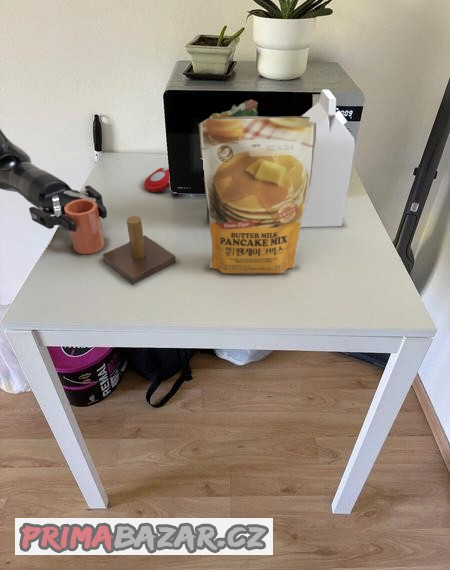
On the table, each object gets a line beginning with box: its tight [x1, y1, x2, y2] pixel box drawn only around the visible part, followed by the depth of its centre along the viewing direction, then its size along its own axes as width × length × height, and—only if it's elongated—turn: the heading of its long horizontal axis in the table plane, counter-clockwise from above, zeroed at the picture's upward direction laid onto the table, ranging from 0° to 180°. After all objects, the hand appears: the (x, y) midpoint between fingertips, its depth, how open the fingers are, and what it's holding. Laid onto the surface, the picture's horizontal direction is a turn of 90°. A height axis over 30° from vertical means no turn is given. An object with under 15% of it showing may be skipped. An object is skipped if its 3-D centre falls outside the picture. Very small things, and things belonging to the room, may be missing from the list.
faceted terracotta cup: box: [64, 199, 106, 255], centre depth 87 cm, size 6×6×9 cm
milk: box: [301, 89, 356, 228], centre depth 93 cm, size 12×12×26 cm
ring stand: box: [102, 215, 177, 285], centre depth 83 cm, size 10×10×10 cm
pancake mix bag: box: [197, 115, 316, 275], centre depth 77 cm, size 7×19×28 cm, turn 91°
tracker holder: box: [143, 166, 180, 195], centre depth 109 cm, size 12×4×10 cm
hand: (89, 220), depth 84 cm, fingers closed on faceted terracotta cup, 6 cm apart
